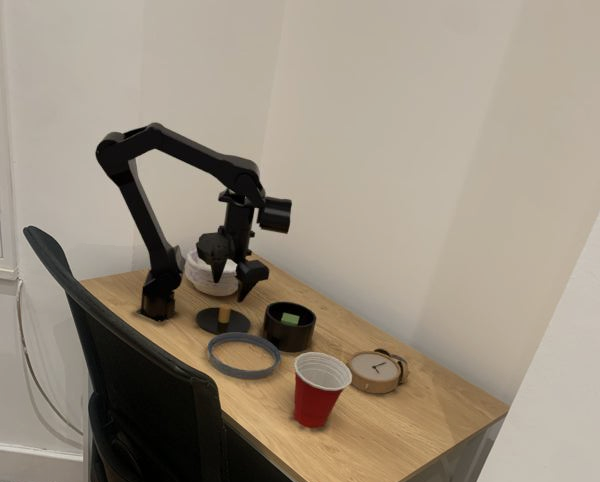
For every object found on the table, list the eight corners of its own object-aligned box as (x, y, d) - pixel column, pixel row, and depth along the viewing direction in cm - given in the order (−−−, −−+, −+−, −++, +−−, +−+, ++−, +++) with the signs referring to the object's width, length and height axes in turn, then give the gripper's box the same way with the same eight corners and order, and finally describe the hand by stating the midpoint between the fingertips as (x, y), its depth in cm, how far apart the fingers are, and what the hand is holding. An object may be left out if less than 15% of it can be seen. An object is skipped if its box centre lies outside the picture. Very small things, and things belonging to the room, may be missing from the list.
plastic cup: (313, 447, 115) (328, 393, 109) (270, 416, 120) (281, 362, 114) (349, 425, 123) (365, 373, 116) (307, 396, 128) (319, 345, 121)
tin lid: (184, 324, 142) (186, 305, 139) (214, 305, 151) (216, 288, 149) (232, 345, 138) (235, 326, 136) (259, 324, 148) (262, 306, 145)
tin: (251, 341, 141) (256, 313, 137) (275, 323, 150) (280, 296, 146) (296, 360, 138) (303, 332, 134) (317, 341, 147) (324, 314, 143)
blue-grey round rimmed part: (192, 362, 130) (193, 351, 129) (230, 334, 142) (232, 324, 140) (256, 391, 126) (258, 380, 125) (290, 360, 138) (292, 350, 137)
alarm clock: (336, 359, 136) (387, 336, 144) (334, 377, 139) (384, 353, 147) (372, 388, 130) (424, 362, 137) (369, 406, 133) (419, 380, 140)
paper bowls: (193, 268, 165) (196, 240, 161) (250, 283, 165) (255, 254, 161) (175, 293, 152) (178, 262, 148) (237, 308, 152) (242, 278, 148)
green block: (276, 341, 142) (281, 319, 139) (279, 333, 145) (283, 312, 142) (292, 345, 142) (297, 323, 139) (294, 337, 145) (299, 316, 142)
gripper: (180, 209, 132) (173, 278, 141) (231, 247, 121) (220, 319, 130) (225, 206, 139) (216, 272, 148) (277, 241, 128) (263, 310, 137)
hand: (227, 292), depth 140 cm, fingers open, 9 cm apart
